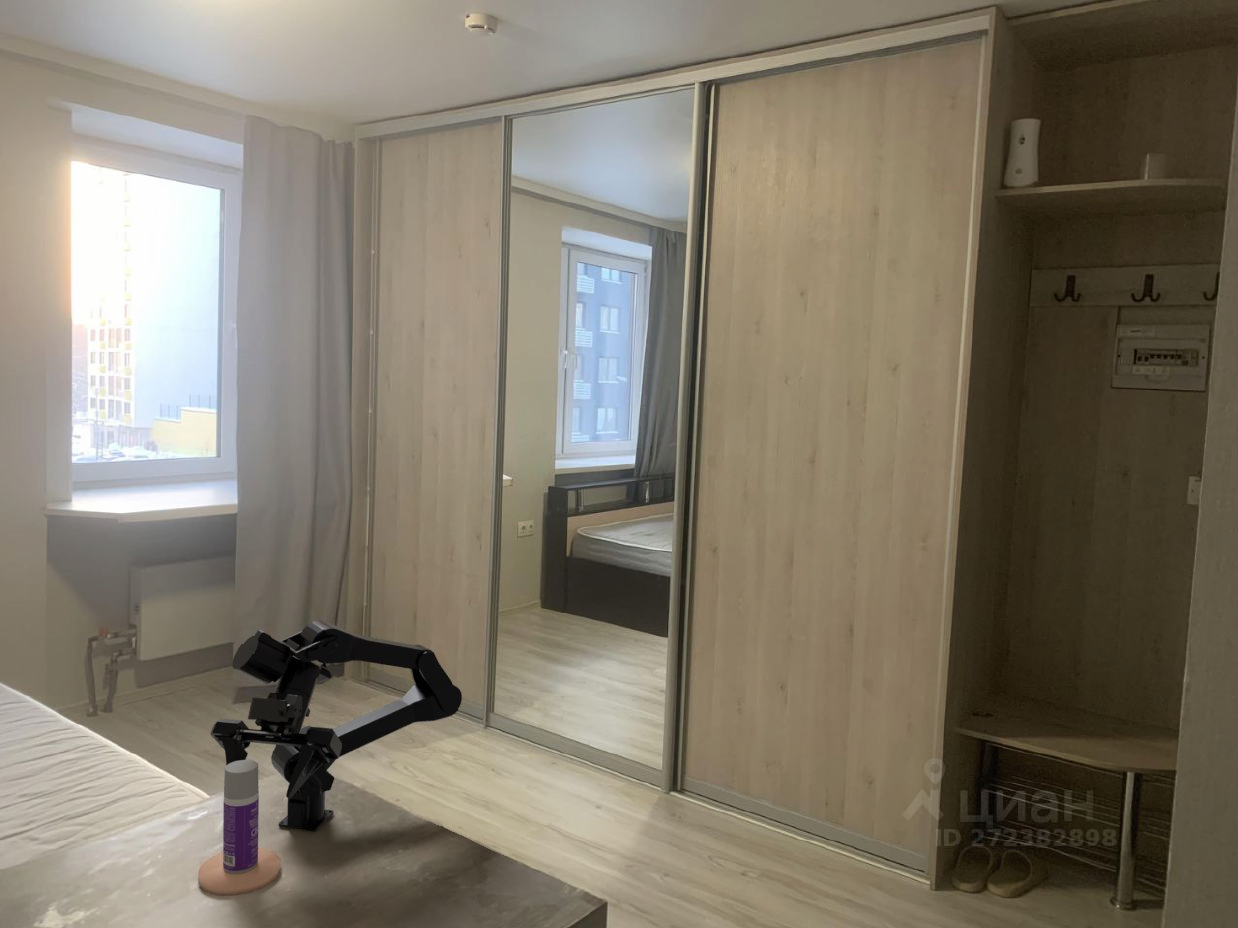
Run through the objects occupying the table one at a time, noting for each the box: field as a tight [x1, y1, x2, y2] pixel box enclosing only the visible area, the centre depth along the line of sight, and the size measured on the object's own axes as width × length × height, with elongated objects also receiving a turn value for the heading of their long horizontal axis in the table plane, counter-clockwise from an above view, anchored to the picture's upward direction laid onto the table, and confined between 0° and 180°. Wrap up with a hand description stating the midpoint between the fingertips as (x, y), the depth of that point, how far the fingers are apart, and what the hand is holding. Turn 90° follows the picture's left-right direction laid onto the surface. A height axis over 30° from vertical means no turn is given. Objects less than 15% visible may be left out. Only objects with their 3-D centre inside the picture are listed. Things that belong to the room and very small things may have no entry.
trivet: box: [197, 846, 281, 896], centre depth 132 cm, size 11×11×1 cm
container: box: [222, 759, 260, 874], centre depth 131 cm, size 5×5×15 cm
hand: (257, 794), depth 133 cm, fingers open, 9 cm apart
